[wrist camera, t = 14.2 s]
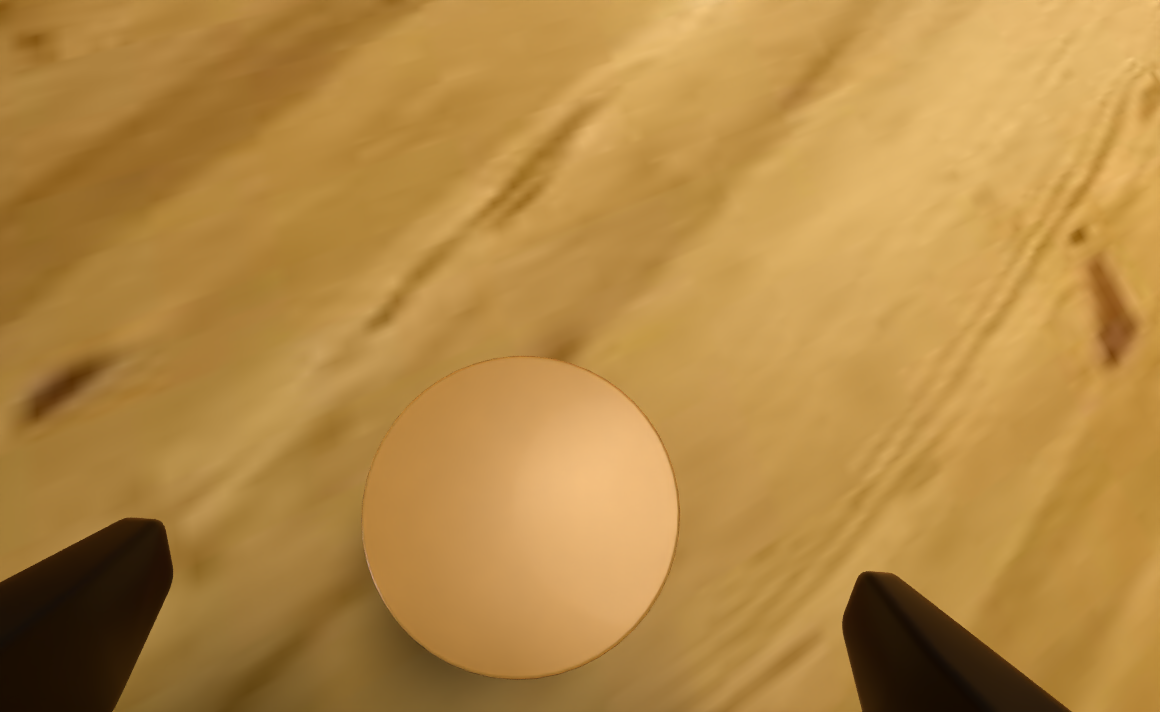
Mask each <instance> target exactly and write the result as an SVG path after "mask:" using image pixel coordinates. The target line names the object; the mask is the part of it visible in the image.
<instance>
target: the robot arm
mask: <svg viewBox="0 0 1160 712" xmlns="http://www.w3.org/2000/svg"><path fill="white" fill-rule="evenodd" d="M172 579H173V565H172V560H171V555H170V550H169V545H168V539H167V534H166V530H165V526H164V525H163V523H162V522H161V521H159V520H156V519H145V518H124V519H122V520H119V521H117V522H115V523H113V524H111V525H109V526H108V527H106V528H104V529H102V530H100V531H98V532H96V533H94V534H92V535H90V536H88V537H86V538H85V539H83V540H81V541H79V542H77V543H75V544H73V545H71V546H69V547H67V548H65V549H63V550H62V551H60V552H58V553H56V554H54V555H52V556H50V557H48V558H46V559H44V560H42V561H40V562H39V563H37V564H35V565H33V566H31V567H29V568H27V569H25V570H23V571H21V572H19V573H17V574H16V575H14V576H12V577H10V578H8V579H6V580H4V581H2V582H0V712H112V711H113V709H114V708H115V706H116V704H117V702H118V700H119V698H120V696H121V694H122V692H123V690H124V688H125V685H126V683H127V681H128V679H129V677H130V675H131V672H132V670H133V668H134V666H135V664H136V662H137V659H138V657H139V655H140V653H141V651H142V648H143V646H144V644H145V642H146V640H147V638H148V635H149V633H150V631H151V629H152V627H153V625H154V622H155V620H156V618H157V616H158V614H159V611H160V609H161V607H162V605H163V603H164V601H165V598H166V596H167V594H168V592H169V589H170V587H171V583H172ZM842 629H843V636H844V640H845V644H846V648H847V652H848V656H849V660H850V664H851V668H852V672H853V676H854V680H855V684H856V688H857V692H858V696H859V700H860V704H861V708H862V712H1072V711H1070V710H1069V709H1068V708H1066V707H1065V706H1064V705H1063V704H1061V703H1060V702H1059V701H1057V700H1056V699H1055V698H1053V697H1052V696H1051V695H1050V694H1048V693H1047V692H1046V691H1044V690H1043V689H1042V688H1041V687H1039V686H1038V685H1037V684H1035V683H1034V682H1033V681H1032V680H1030V679H1029V678H1028V677H1026V676H1025V675H1024V674H1023V673H1021V672H1020V671H1019V670H1017V669H1016V668H1015V667H1014V666H1012V665H1011V664H1010V663H1008V662H1007V661H1006V660H1005V659H1003V658H1002V657H1001V656H999V655H998V654H997V653H996V652H994V651H993V650H992V649H990V648H989V647H988V646H987V645H985V644H984V643H983V642H981V641H980V640H979V639H978V638H976V637H975V636H974V635H972V634H971V633H970V632H969V631H967V630H966V629H965V628H963V627H962V626H961V625H960V624H958V623H957V622H956V621H954V620H953V619H952V618H951V617H949V616H948V615H947V614H945V613H944V612H943V611H942V610H940V609H939V608H938V607H936V606H935V605H934V604H933V603H931V602H930V601H929V600H927V599H926V598H925V597H924V596H922V595H921V594H920V593H918V592H917V591H916V590H915V589H913V588H912V587H911V586H909V585H908V584H907V583H906V582H904V581H903V580H902V579H900V578H899V577H898V576H896V575H894V574H892V573H885V572H871V571H866V572H863V573H861V574H860V575H859V576H858V578H857V580H856V583H855V586H854V588H853V591H852V593H851V596H850V599H849V601H848V604H847V607H846V609H845V612H844V615H843V621H842Z"/></svg>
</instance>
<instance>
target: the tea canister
mask: <svg viewBox="0 0 1160 712" xmlns="http://www.w3.org/2000/svg"><path fill="white" fill-rule="evenodd" d="M679 521H680V507H679V494H678V488H677V483H676V478H675V473H674V470H673V467H672V464H671V461H670V458H669V455H668V453H667V450H666V448H665V446H664V444H663V442H662V440H661V438H660V436H659V434H658V433H657V431H656V430H655V428H654V427H653V425H652V424H651V422H650V421H649V419H648V418H647V417H646V415H645V414H644V413H643V412H642V411H641V409H640V408H639V407H638V406H637V405H636V404H635V403H634V402H633V401H632V400H631V399H630V398H629V397H628V396H627V395H626V394H624V393H623V392H622V391H621V390H620V389H618V388H617V387H616V386H614V385H613V384H611V383H610V382H609V381H607V380H606V379H604V378H602V377H600V376H598V375H597V374H595V373H593V372H591V371H589V370H587V369H584V368H582V367H579V366H576V365H574V364H571V363H568V362H564V361H560V360H556V359H552V358H544V357H535V356H511V357H503V358H495V359H491V360H487V361H483V362H479V363H475V364H473V365H470V366H467V367H465V368H462V369H460V370H457V371H455V372H453V373H451V374H450V375H448V376H446V377H444V378H442V379H440V380H439V381H437V382H436V383H434V384H433V385H432V386H430V387H429V388H427V389H426V390H425V391H423V392H422V393H421V394H420V395H419V396H418V397H417V398H415V399H414V400H413V401H412V402H411V403H410V404H409V405H408V406H407V407H406V408H405V409H404V411H403V412H402V413H401V414H400V415H399V416H398V418H397V419H396V420H395V421H394V423H393V424H392V426H391V427H390V429H389V430H388V432H387V433H386V435H385V436H384V438H383V440H382V442H381V444H380V446H379V448H378V450H377V452H376V454H375V456H374V459H373V462H372V464H371V467H370V470H369V473H368V476H367V480H366V485H365V490H364V495H363V503H362V518H361V523H362V538H363V546H364V551H365V556H366V561H367V565H368V568H369V571H370V573H371V576H372V579H373V582H374V585H375V587H376V589H377V591H378V593H379V595H380V596H381V598H382V600H383V602H384V604H385V606H386V607H387V609H388V610H389V611H390V613H391V614H392V616H393V617H394V618H395V620H396V621H397V623H398V624H399V625H400V626H401V627H402V628H403V629H404V630H405V631H406V632H407V633H408V634H409V635H410V636H411V638H412V639H414V640H415V641H416V642H417V643H419V644H420V645H421V646H422V647H424V648H425V649H426V650H427V651H429V652H430V653H432V654H433V655H435V656H437V657H438V658H440V659H442V660H444V661H445V662H447V663H449V664H451V665H453V666H456V667H458V668H461V669H463V670H466V671H468V672H471V673H475V674H479V675H483V676H488V677H492V678H502V679H512V680H518V679H537V678H542V677H548V676H553V675H558V674H561V673H564V672H567V671H570V670H573V669H576V668H579V667H581V666H583V665H585V664H587V663H589V662H591V661H593V660H595V659H597V658H599V657H600V656H602V655H603V654H605V653H606V652H608V651H609V650H610V649H612V648H613V647H615V646H616V645H618V644H619V643H620V642H621V641H622V640H623V639H624V638H625V637H626V636H628V635H629V634H630V633H631V632H632V631H633V630H634V629H635V628H636V627H637V625H638V624H639V623H640V622H641V621H642V619H643V618H644V617H645V616H646V615H647V613H648V612H649V611H650V609H651V607H652V606H653V604H654V603H655V601H656V599H657V598H658V596H659V595H660V593H661V591H662V588H663V586H664V584H665V582H666V580H667V577H668V575H669V573H670V569H671V566H672V563H673V560H674V556H675V553H676V547H677V541H678V536H679Z"/></svg>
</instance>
